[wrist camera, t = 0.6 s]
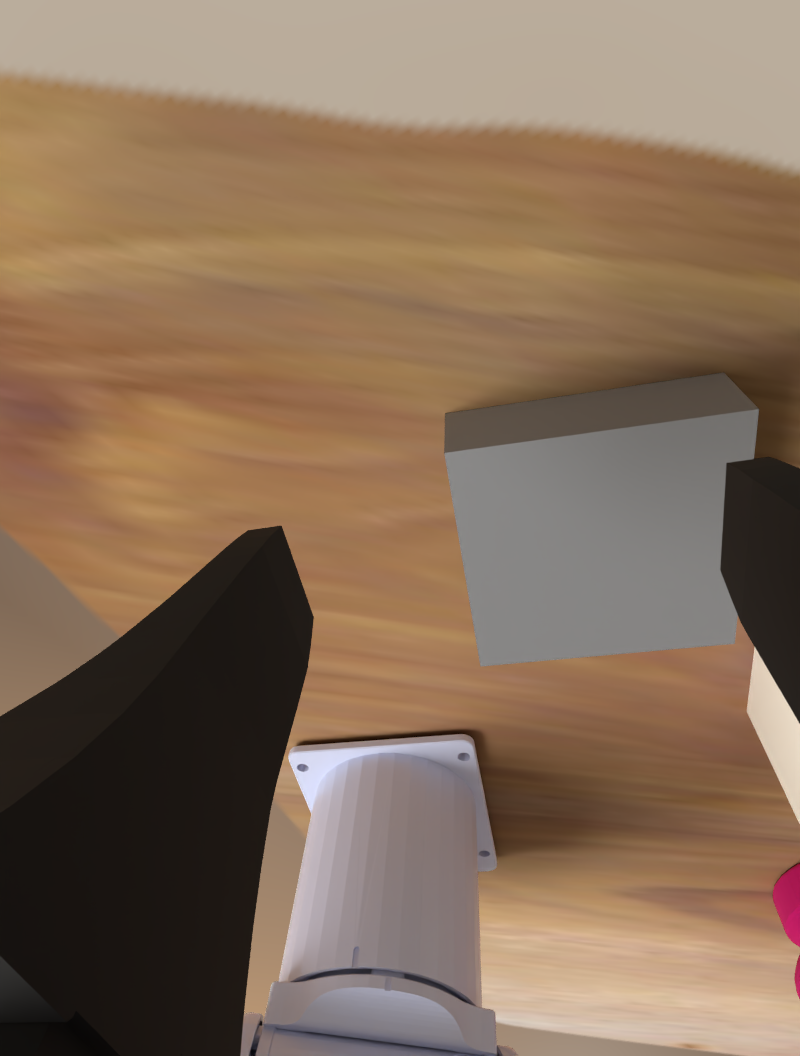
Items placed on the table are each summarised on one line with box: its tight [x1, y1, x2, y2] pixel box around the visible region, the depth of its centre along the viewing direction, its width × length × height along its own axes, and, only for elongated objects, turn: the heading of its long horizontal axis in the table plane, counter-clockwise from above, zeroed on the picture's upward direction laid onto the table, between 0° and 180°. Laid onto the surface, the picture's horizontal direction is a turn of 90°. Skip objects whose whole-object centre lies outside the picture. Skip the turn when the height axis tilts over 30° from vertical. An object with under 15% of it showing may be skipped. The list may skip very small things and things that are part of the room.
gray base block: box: [444, 373, 759, 666], centre depth 21 cm, size 8×8×3 cm
